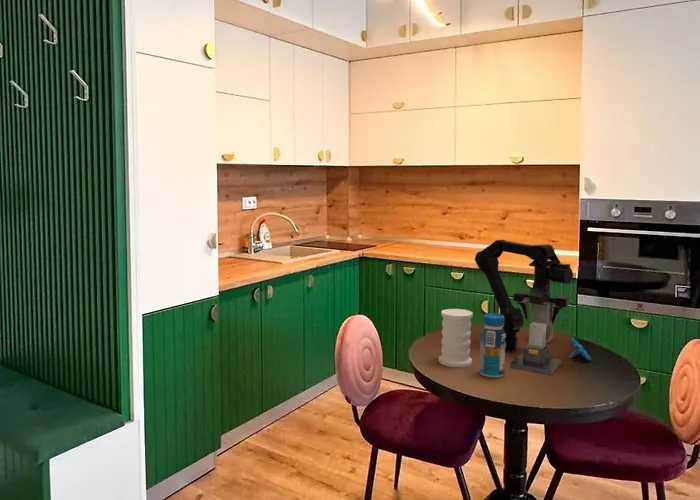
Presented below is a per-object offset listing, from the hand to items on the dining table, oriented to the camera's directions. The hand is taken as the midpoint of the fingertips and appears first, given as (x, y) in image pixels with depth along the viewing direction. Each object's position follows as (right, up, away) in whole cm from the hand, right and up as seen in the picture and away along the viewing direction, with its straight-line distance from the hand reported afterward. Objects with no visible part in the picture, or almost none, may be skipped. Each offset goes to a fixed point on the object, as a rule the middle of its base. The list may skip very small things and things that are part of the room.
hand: (539, 322), depth 224 cm
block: (-4, -8, -8) cm, 13 cm away
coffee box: (+8, -10, +24) cm, 27 cm away
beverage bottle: (-21, -15, -17) cm, 31 cm away
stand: (-4, -14, -8) cm, 17 cm away
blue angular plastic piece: (+15, -14, +1) cm, 20 cm away
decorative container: (-31, -14, -5) cm, 34 cm away
